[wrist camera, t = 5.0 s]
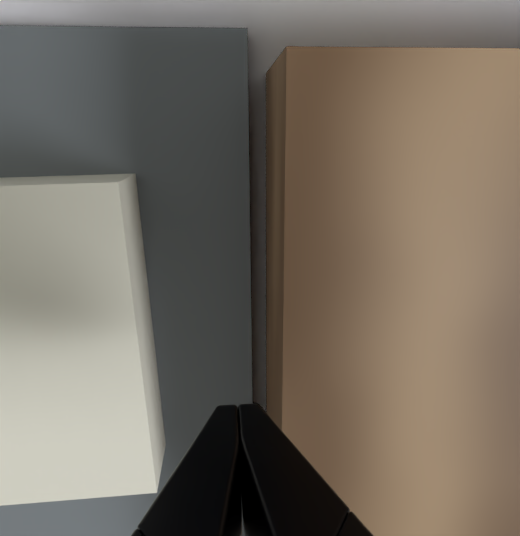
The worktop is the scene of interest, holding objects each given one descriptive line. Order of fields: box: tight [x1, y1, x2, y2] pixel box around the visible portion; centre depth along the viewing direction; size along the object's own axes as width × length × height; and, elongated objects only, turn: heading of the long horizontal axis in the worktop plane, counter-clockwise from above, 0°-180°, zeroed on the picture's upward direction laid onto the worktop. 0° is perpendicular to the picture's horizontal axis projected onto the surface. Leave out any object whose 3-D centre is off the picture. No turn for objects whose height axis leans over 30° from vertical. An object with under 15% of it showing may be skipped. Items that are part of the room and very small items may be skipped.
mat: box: [0, 25, 252, 536], centre depth 13 cm, size 12×18×1 cm, turn 0°
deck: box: [266, 46, 520, 536], centre depth 13 cm, size 14×22×4 cm, turn 0°
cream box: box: [0, 174, 166, 506], centre depth 12 cm, size 6×9×2 cm, turn 2°
